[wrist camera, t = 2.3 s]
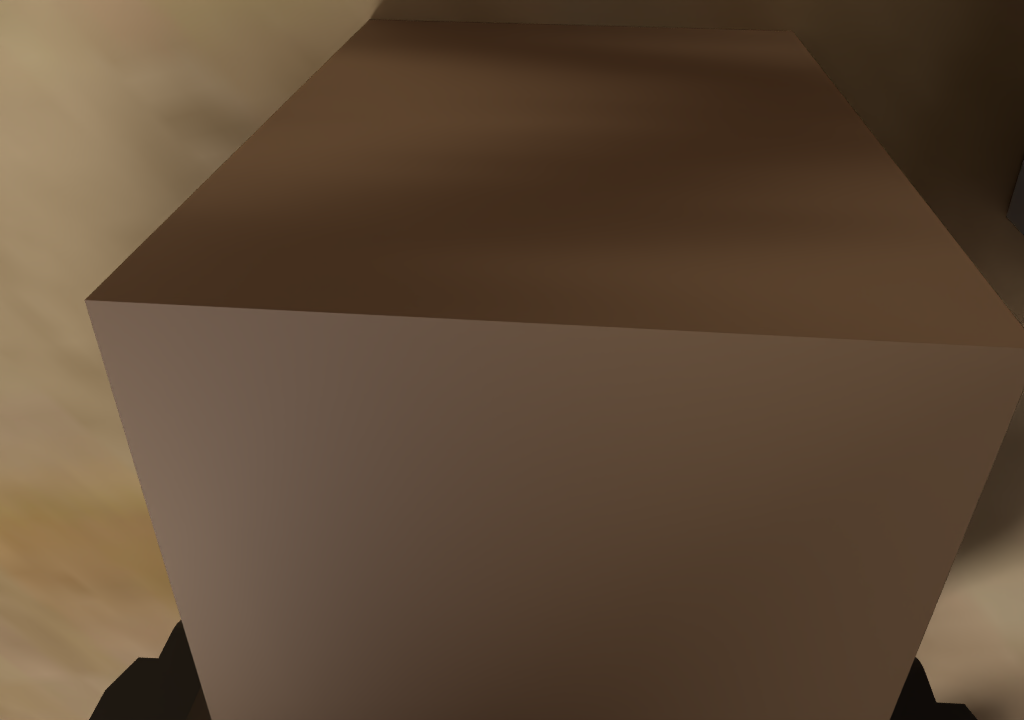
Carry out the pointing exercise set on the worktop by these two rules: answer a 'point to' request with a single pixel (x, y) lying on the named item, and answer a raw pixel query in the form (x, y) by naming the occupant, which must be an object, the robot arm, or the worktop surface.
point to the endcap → (1018, 203)
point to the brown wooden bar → (558, 387)
